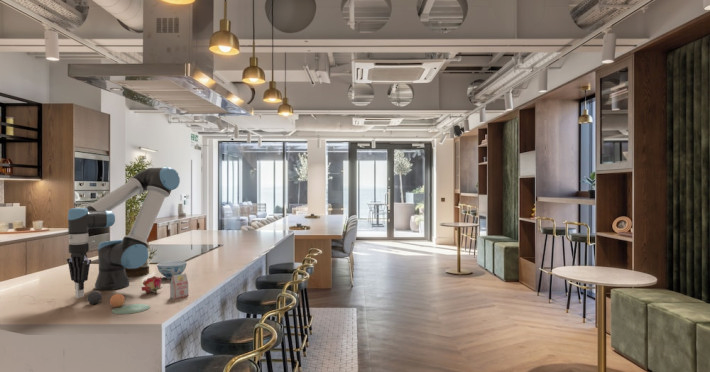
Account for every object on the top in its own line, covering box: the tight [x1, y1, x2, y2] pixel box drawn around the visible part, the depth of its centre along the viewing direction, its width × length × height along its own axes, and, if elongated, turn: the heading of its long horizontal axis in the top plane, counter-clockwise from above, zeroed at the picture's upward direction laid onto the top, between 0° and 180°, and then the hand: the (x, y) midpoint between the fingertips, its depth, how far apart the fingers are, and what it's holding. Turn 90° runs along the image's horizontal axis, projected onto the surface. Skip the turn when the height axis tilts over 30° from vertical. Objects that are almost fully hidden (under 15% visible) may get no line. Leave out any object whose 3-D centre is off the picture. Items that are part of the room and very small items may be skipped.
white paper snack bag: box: [169, 273, 189, 300], centre depth 208 cm, size 4×7×10 cm, turn 142°
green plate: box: [111, 303, 151, 315], centre depth 189 cm, size 14×14×1 cm
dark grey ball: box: [86, 290, 103, 305], centre depth 198 cm, size 6×6×6 cm
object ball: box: [109, 293, 126, 308], centre depth 192 cm, size 6×6×6 cm
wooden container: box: [125, 240, 150, 278], centre depth 259 cm, size 15×15×22 cm
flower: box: [141, 275, 163, 294], centre depth 215 cm, size 10×9×8 cm
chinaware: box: [156, 260, 188, 280], centre depth 249 cm, size 15×15×8 cm
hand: (79, 296), depth 201 cm, fingers closed
